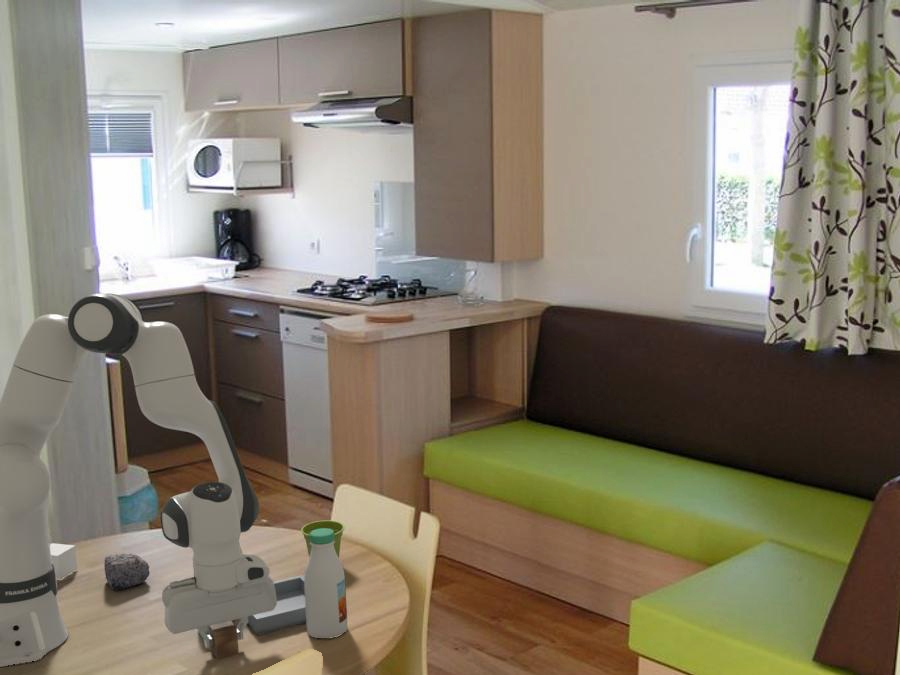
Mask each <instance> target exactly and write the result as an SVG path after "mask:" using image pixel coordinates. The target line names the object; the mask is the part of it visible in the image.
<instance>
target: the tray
mask: <svg viewBox="0 0 900 675" xmlns="http://www.w3.org/2000/svg"><path fill="white" fill-rule="evenodd" d="M272 581H273V580H272ZM273 583H274V586H275V591H276V597H277V605H276V607H275V608H274V610H272V611H268V612H264V613H260V614H256V615H252V616H248V623H247V625H249V626H250V628H251V629H252V630H253V631H254V633H255V634H256V636H258V635H263V634H267V633H271V632H275V631H279V630H282V629H287V628H289V627H294V626H298V625H303V624H307V623H306V606H305V587H304V574H300V575H296V576H290V577H287V578H283V579H278V580H274V581H273Z"/></svg>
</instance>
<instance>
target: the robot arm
mask: <svg viewBox="0 0 900 675" xmlns="http://www.w3.org/2000/svg"><path fill="white" fill-rule="evenodd" d="M92 352H93V353H97V354H111V355H117V356H118V355H120V356H121V355H122V356H123V357H124V358H125V359H126V360H127V362H128V364H129V367H130V368H131V369H130V370H131V374H132V378H133V384H134V389H135V394H136V398H137V403H138V406H139V408H140V411H141V413H142V415H144V416H145V417H146V419H148V421H150V422H151V423H153V424H156V425H157V426H160V427H162V428H165V429H169V430H175V431H181V432H187V433H191V434H193V435H195V436H197V437H198V438H200V439H201V441H203V443H204V445H205V446H206V448H207V451H208V454H209V456H210V459H211V462H212V464H213V467H214V470H215V472H216V475H217V478H218V481H206V482H202V483H199V484H197V485H195V486H194V487H192V488H191V490H190V491H187V492H183V493H182V492H181V493H179V494H176V495H173V496H172V497H169V498H168V499H167V500H166V501H165V503H164V505H163V506H162V508H161V511H160V525H161V526H160V527H161V532H162V534H163V537H164V538H165V539H166V540H167V541H169V542H171V543H172V544H174V545H175V546H178V547H181V548H190V549H191V550H192V551H193V555H192V567H193V577H189V578H185V579H181V580H178V581H177V580H175V581H171V582H170V583H169V584H168V585H167V586H165V588H164V589H163V590H162V592H161V593H162V594H161V597H162V603H163V605H164V607H165V608H164V623H165V627H166V629H167V630H168V631H169V632H170V633H171V634H172V635H176V634H180V633H185V632H189V631H193V630H197V632H198V631H199V632H200V634H201V635H202V636H203V637H204V640H203V643H204V647H205V648H206V649H211V647H214V646H215V644H214V637H212V635H206V633H205V632H206V631H207V626H210V625H214V624H219V623H223V622H227V621H231V622H232V621H235V620H238V624H237V626H236V628H237V637H238V641H241V640H244V631H245V629H246V628H247V625H248V616H252V615H256V614H260V613H264V612H268V611H272V610H274V608H275V607H276V605H277V597H276V591H275V586H274V583H273V579H272V578H271V576H270V567H269V565H268V563H266V561H264V560H263V558H261V557H260V556H257V555H254V554H253V555H252V554H244V553H243V551H242V547H241V545H240V537H241V533H246V532H248V531H249V530H250V529H251V528H252V526H254V523H255V521H256V520H257V518H258V516H259V513H260V504H259V499H258V497H257V494H256V492H255V490H254V488H253V486H252V484H251V482H250V481H249V478H248V477H247V474H246V472H245V470H244V467H243V464H242V461H241V459H240V457H239V454H238V451H237V448H236V445H235V443H234V440H233V438H232V434H231V432H230V430H229V426H228V424H227V422H226V420H225V417H224V415H223V413H222V411H221V409H220V407H219V406H218V404H217V403H216V402H215V401H213V400H210V399H208V398H207V396H205V394H204V393H203V392H202V390H201V388H200V386H199V384H198V382H197V378H196V375H195V369H194V365H193V362H192V358H191V354H190V350H189V349H188V345H187V343H186V340H185V338H184V336H183V333H182V332H181V330H180V328H179V327H178V326H177V325H175V324H173V323H171V322H168V321H163V320H162V321H158V320H157V321H150V322H149V321H146V320H145V317H144V312H142V309H141V308H140V307H139V305H137V303H136V302H134V301H133V300H131V299H129V298H126V297H124V296H122V295H119V294H116V293H100V292H99V293H98V292H97V293H92V294H91V293H90V294H88V295H85V296H83V297H81V298H80V299H79V300H77V301H76V303H74V304H73V306H72V308H70V311H69V314H68V316H64V315H62V314H56V313H50V314H49V313H48V314H43V315H40V316H38V317H37V318H36V319H35V320H33V322H32V324H31V325H30V327H29V329H28V331H27V332H26V334H25V335H24V337H23V339H22V342H21V344H20V346H19V348H18V351H17V353H16V356H15V358H14V361H13V363H12V367H11V370H10V373H9V375H8V378H7V381H6V384H5V387H4V390H3V393H2V395H1V398H0V668H1V667H8V665H9V666H14V665H13V664H15V665H21V664H27V663H32V661H34V662H37V660H38V661H39V659H40V660H42V659H43V658H44V657H45V656H46V654H47V653H49V652H51V651H52V650H54V649H57V648H58V647H59V646H61V645H62V644H63V643H64V642H65V641H66V640H67V638H68V636H69V631H68V629H67V626H66V625H65V621H64V619H63V617H62V616H63V615H62V613H61V610H60V605H59V602H58V598H57V595H58V581H57V579H56V571H55V568H54V566H53V564H52V563H51V553H50V544H51V543H50V536H49V535H50V534H49V510H50V488H51V482H50V481H51V480H50V474H49V471H48V467H47V465H46V464H45V462H44V461H43V460H42V459H41V454H42V450H43V448H44V446H45V444H46V443H47V441H48V439H49V437H50V436H51V434H52V433H53V430H54V429H55V427H56V426H58V425H59V423H60V422H61V420H62V417H63V414H64V411H65V408H66V404H67V402H68V399H69V397H70V394H71V391H72V388H73V385H74V382H75V379H76V375H77V373H78V369H79V367H80V364H81V362H82V360H83V359H84V357H85V356H86V355H88V354H89V353H92ZM200 634H199V635H200ZM201 635H200V636H201ZM44 655H45V656H44ZM43 656H44V657H43ZM42 657H43V658H42ZM26 662H27V663H26ZM20 663H21V664H20Z"/></svg>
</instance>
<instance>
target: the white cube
mask: <svg viewBox="0 0 900 675" xmlns="http://www.w3.org/2000/svg"><path fill="white" fill-rule="evenodd" d="M50 553H51V563H52V564H53V566H54V568H55V571H56V578H57V579H62V578H63V577H65V576H67V575H68V574H70V573H71V572H73V571H75V570H77V569H78V561H77V550H76V545H75V544H74V545H73V544H63V543H53V542H52V543H50Z"/></svg>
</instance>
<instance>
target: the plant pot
mask: <svg viewBox="0 0 900 675" xmlns="http://www.w3.org/2000/svg"><path fill="white" fill-rule="evenodd" d="M321 528H327V529H331V530H333V531H334V535H335V539H334V541H335V543H334V549H335V551H336V554H337V556H338V558H339V559H340V554H341V553H340V552H341V551H340V550H341V540H342V536H343V532H344V530H345V525H344V524H343V523H342V522H340V521H336V520H330V519H329V520H327V519H326V520H317V521H312V522H309V523H307V524H305V525H304V526H302V527H301V529H300V530H301V533H302V535H303V537H304V539H305V543H306V544H305V545H306V547H307V548H306V549H307V554H308V558H309V557H310V554H311V549H312V545H311V544H310V533H311V532H312V531H313V530H316V529H321Z"/></svg>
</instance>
